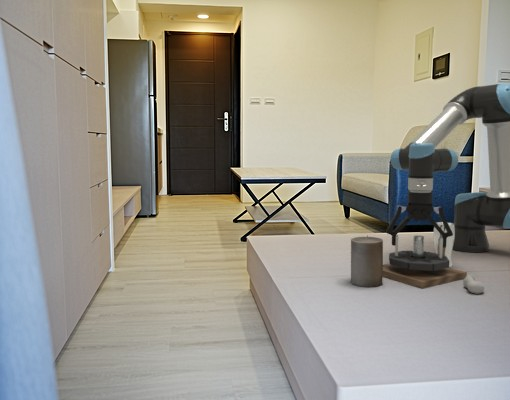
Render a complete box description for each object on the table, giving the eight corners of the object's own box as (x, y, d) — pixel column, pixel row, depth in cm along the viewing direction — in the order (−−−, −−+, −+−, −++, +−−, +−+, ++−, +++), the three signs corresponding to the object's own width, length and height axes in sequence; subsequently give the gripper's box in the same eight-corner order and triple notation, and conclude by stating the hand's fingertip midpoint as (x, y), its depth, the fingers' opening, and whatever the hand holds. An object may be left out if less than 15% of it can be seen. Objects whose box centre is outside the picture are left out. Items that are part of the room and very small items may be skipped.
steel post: (417, 267, 157) (418, 234, 156) (426, 269, 154) (427, 236, 152) (409, 269, 155) (410, 235, 154) (418, 271, 152) (419, 237, 150)
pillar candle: (383, 279, 150) (384, 233, 148) (381, 288, 140) (381, 238, 139) (352, 277, 153) (352, 231, 151) (348, 286, 144) (348, 237, 142)
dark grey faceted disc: (414, 254, 166) (414, 248, 166) (459, 265, 151) (460, 258, 151) (377, 261, 157) (377, 255, 157) (422, 273, 142) (422, 266, 141)
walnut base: (413, 264, 169) (413, 258, 169) (466, 278, 151) (466, 272, 151) (370, 272, 158) (370, 267, 158) (422, 288, 140) (422, 282, 140)
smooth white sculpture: (484, 299, 134) (466, 293, 135) (476, 290, 142) (459, 284, 142) (490, 285, 133) (471, 279, 134) (482, 277, 141) (465, 271, 142)
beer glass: (455, 268, 163) (457, 225, 161) (434, 267, 164) (435, 224, 163) (451, 263, 170) (453, 222, 168) (430, 262, 171) (432, 221, 170)
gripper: (380, 191, 151) (378, 257, 153) (464, 193, 145) (461, 260, 147) (379, 189, 158) (378, 252, 160) (459, 190, 152) (457, 255, 154)
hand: (418, 256), depth 154 cm, fingers open, 13 cm apart
